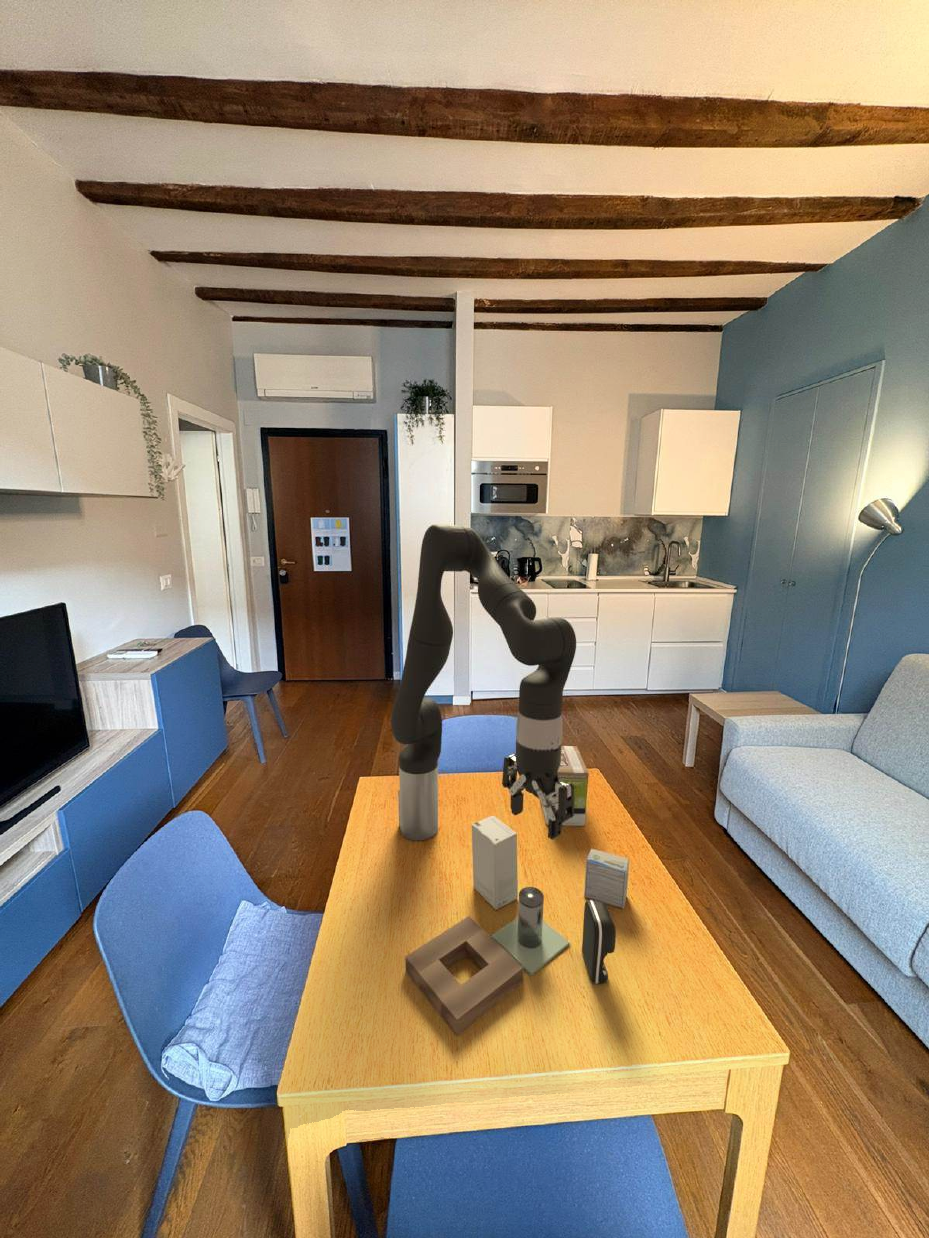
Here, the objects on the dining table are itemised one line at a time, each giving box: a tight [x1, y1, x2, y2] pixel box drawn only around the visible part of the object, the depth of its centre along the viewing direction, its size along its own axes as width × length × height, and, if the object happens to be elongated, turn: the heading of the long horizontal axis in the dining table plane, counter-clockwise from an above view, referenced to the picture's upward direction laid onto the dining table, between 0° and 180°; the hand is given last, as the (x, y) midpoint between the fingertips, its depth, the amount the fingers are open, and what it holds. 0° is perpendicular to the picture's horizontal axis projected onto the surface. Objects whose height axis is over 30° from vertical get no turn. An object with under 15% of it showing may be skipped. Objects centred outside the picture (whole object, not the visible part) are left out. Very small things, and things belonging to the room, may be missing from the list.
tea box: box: [541, 745, 589, 827], centre depth 132 cm, size 15×10×15 cm
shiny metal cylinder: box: [517, 886, 545, 948], centre depth 92 cm, size 4×4×9 cm
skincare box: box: [471, 815, 519, 910], centre depth 103 cm, size 8×6×15 cm
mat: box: [490, 916, 571, 976], centre depth 93 cm, size 10×10×1 cm
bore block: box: [404, 915, 524, 1037], centre depth 85 cm, size 14×14×3 cm
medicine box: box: [583, 848, 630, 910], centre depth 103 cm, size 8×4×9 cm, turn 65°
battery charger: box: [581, 899, 617, 985], centre depth 86 cm, size 7×4×11 cm, turn 2°
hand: (534, 824), depth 88 cm, fingers open, 8 cm apart
